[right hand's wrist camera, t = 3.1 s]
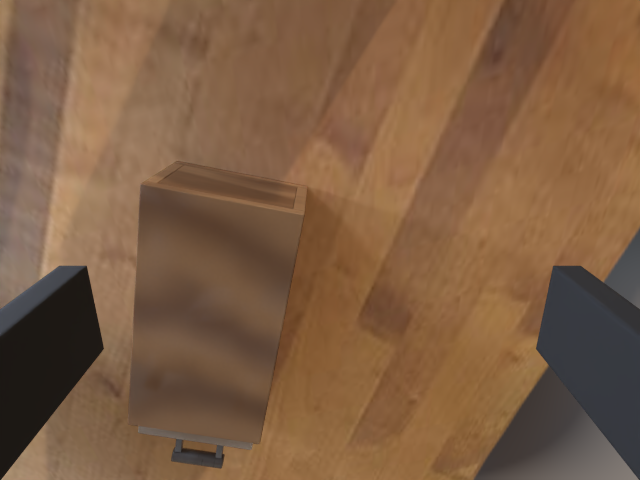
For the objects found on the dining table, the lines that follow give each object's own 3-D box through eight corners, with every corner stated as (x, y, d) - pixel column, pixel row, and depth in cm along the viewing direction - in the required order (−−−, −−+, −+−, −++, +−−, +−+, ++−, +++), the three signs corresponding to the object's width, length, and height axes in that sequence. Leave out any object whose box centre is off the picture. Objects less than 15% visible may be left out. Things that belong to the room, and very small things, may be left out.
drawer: (252, 444, 47) (242, 497, 41) (158, 430, 47) (134, 481, 41) (294, 220, 38) (289, 247, 32) (177, 198, 37) (151, 221, 32)
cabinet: (269, 382, 45) (259, 444, 38) (160, 364, 45) (127, 424, 37) (307, 186, 38) (304, 214, 30) (176, 160, 37) (139, 183, 30)
